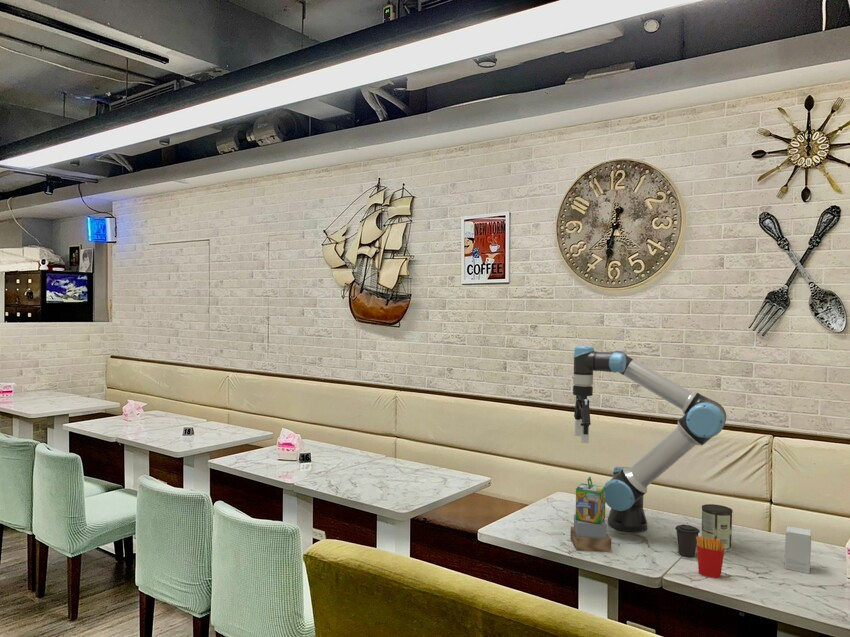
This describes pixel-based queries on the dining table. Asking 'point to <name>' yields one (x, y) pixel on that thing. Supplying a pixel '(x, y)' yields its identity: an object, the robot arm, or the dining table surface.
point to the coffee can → (717, 524)
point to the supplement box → (797, 549)
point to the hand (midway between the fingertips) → (581, 439)
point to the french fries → (710, 556)
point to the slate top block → (590, 529)
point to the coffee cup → (687, 540)
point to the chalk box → (590, 502)
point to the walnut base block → (590, 543)
